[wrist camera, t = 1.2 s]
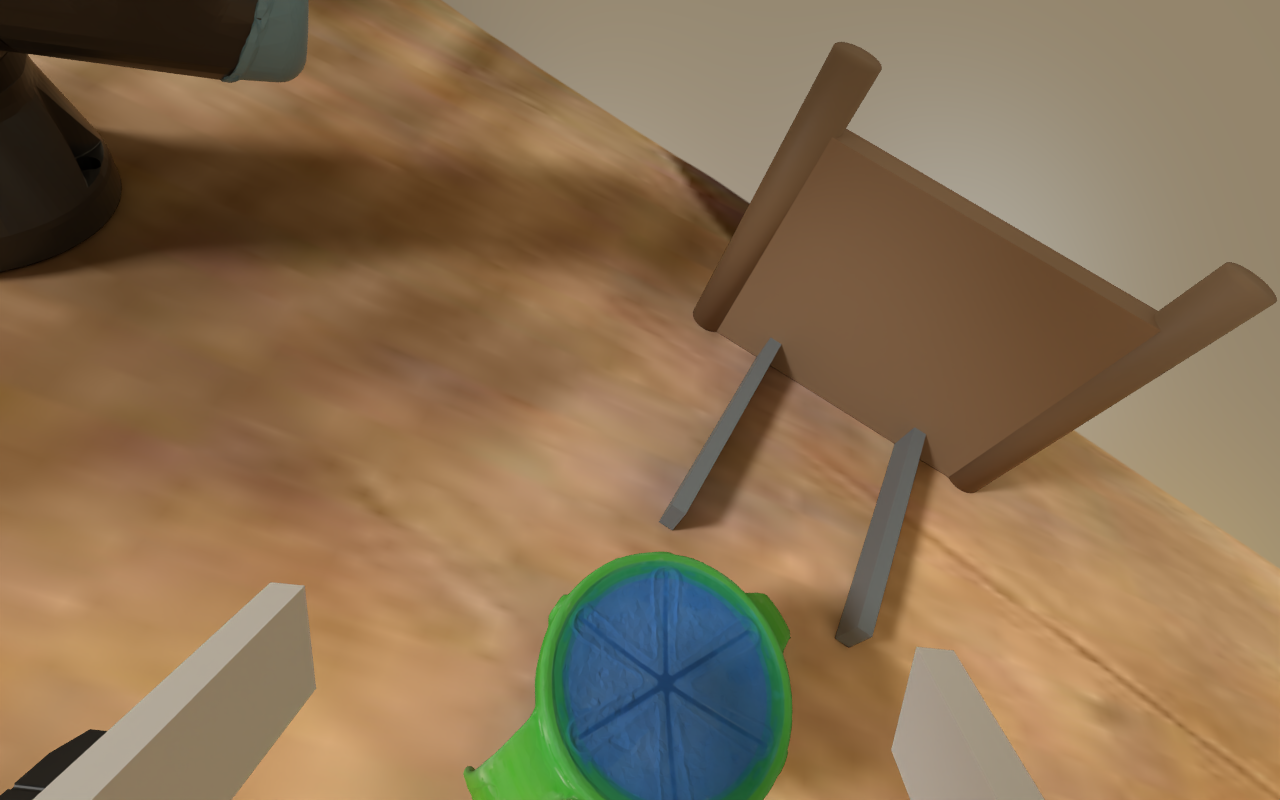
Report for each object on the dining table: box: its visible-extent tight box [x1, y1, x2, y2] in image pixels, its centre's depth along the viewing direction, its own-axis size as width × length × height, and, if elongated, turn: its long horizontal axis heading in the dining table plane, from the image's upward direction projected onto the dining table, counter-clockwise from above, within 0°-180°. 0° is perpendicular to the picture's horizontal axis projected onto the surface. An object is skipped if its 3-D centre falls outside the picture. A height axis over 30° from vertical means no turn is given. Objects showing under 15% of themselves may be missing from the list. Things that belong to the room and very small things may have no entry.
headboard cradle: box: [659, 42, 1277, 647], centre depth 37 cm, size 27×20×22 cm
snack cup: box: [464, 552, 792, 800], centre depth 28 cm, size 16×10×10 cm
